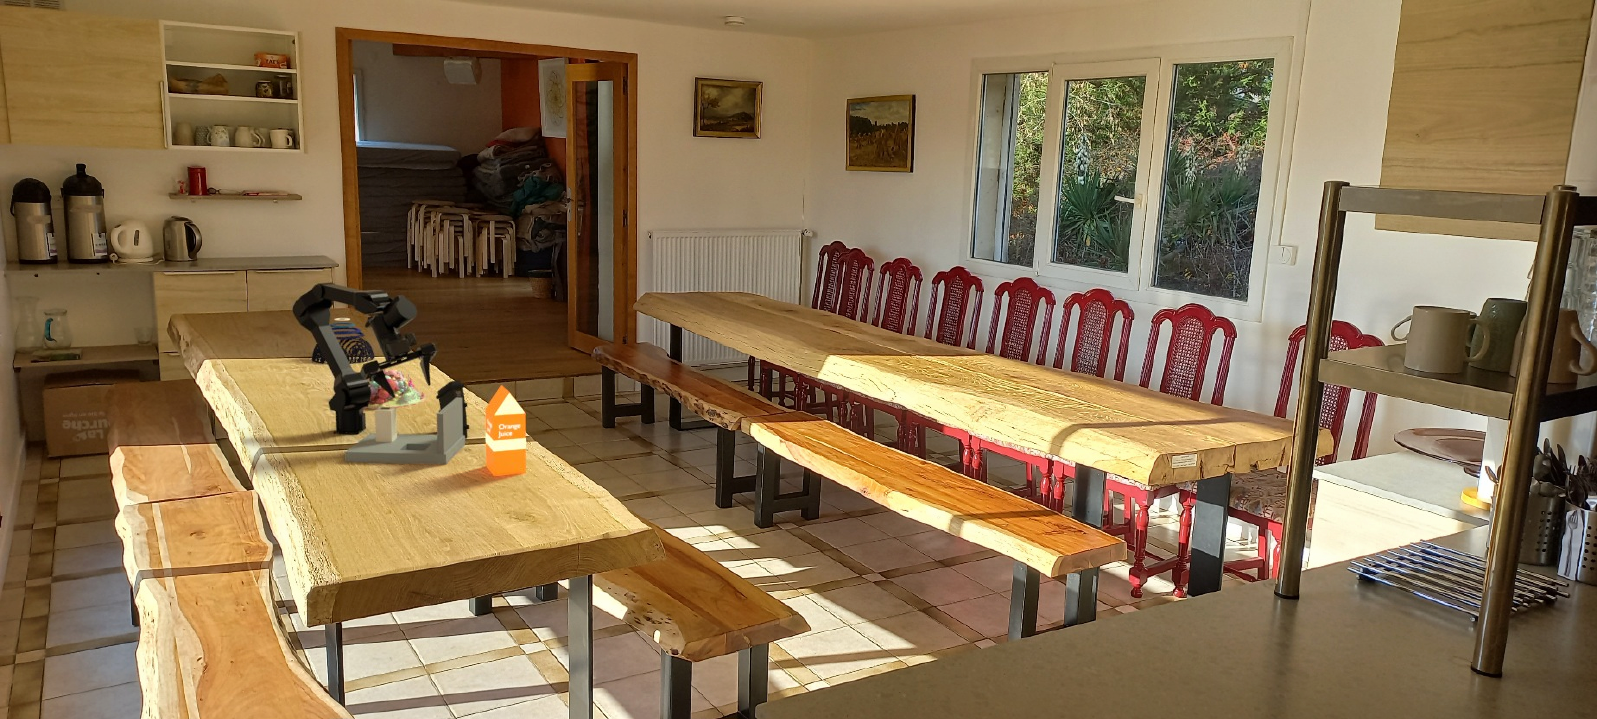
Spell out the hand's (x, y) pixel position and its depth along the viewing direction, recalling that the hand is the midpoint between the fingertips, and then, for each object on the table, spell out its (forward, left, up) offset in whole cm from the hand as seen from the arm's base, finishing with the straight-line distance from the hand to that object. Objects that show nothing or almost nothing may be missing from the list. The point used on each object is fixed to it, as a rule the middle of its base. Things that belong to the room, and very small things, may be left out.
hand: (412, 391), depth 282 cm
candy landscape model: (-23, +52, -15) cm, 59 cm away
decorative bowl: (-57, +112, -15) cm, 126 cm away
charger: (-5, -4, -12) cm, 14 cm away
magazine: (+7, +13, -14) cm, 20 cm away
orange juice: (+28, -19, -14) cm, 37 cm away
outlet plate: (+1, -7, -14) cm, 16 cm away
